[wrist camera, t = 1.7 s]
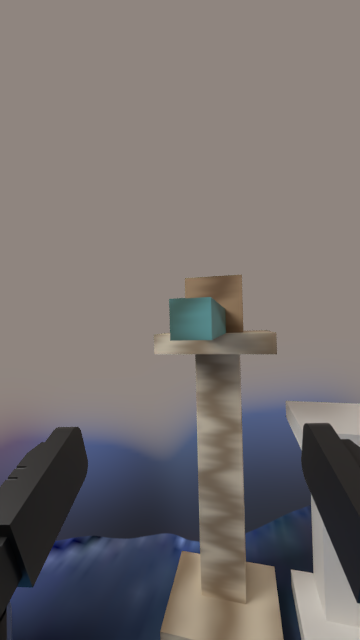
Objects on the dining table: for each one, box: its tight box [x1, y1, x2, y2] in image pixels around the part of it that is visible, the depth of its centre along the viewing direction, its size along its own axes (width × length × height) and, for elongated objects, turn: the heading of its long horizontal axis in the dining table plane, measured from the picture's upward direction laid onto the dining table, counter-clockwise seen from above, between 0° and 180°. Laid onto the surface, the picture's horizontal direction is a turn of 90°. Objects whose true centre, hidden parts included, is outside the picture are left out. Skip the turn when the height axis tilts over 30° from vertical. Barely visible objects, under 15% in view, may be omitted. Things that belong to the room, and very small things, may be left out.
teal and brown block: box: [169, 275, 243, 341], centre depth 26 cm, size 6×20×6 cm, turn 167°
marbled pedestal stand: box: [154, 330, 283, 640], centre depth 31 cm, size 12×10×32 cm
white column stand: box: [286, 401, 360, 640], centre depth 28 cm, size 10×10×23 cm
